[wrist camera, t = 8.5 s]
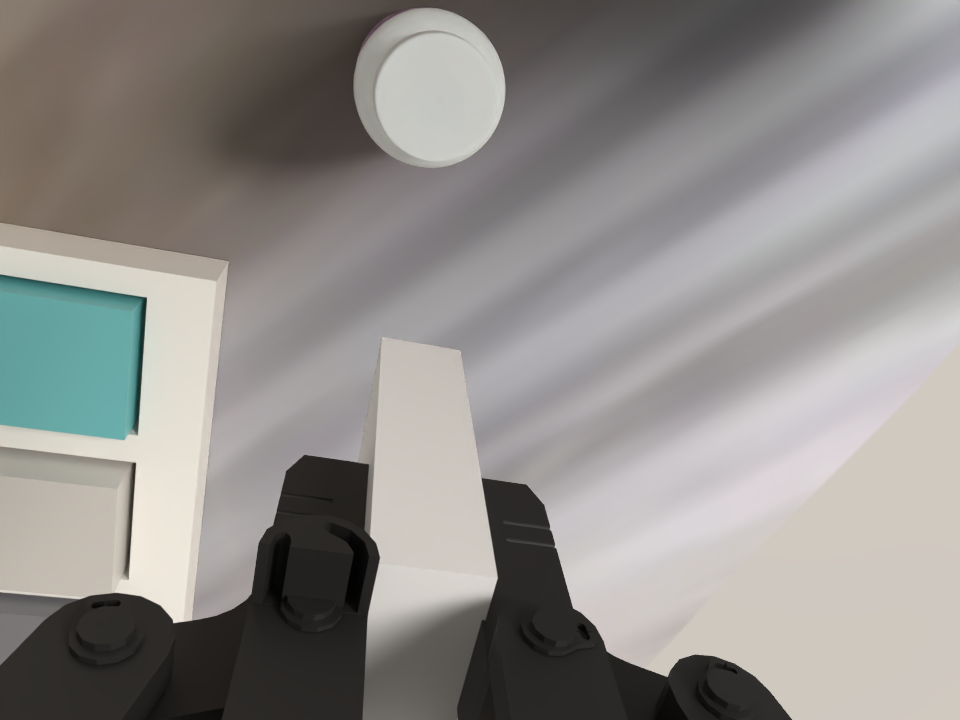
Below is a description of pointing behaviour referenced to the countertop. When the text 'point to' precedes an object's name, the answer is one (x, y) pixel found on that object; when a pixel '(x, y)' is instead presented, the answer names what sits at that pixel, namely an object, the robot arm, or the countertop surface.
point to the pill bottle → (428, 87)
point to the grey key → (64, 522)
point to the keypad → (144, 395)
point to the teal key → (70, 358)
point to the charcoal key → (23, 617)
